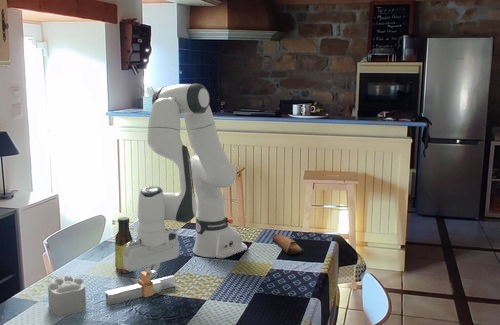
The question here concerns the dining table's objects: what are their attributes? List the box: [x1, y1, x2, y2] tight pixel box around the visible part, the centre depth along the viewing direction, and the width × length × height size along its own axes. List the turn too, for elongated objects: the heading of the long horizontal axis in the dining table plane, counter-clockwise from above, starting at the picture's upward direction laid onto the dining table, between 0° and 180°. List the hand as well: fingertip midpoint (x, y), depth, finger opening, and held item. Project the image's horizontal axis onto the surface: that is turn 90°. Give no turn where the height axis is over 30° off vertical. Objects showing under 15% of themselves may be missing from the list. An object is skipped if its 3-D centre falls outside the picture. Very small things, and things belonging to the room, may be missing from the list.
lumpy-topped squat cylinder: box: [47, 274, 87, 317], centre depth 169 cm, size 10×13×9 cm
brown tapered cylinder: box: [272, 233, 303, 254], centre depth 226 cm, size 18×7×7 cm
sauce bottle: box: [114, 216, 134, 274], centre depth 195 cm, size 7×6×20 cm
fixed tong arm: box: [105, 275, 176, 305], centre depth 178 cm, size 24×1×4 cm, turn 126°
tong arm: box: [107, 281, 162, 306], centre depth 176 cm, size 18×1×4 cm, turn 126°
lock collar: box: [137, 270, 154, 298], centre depth 178 cm, size 3×5×7 cm, turn 36°
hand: (152, 276), depth 179 cm, fingers closed
